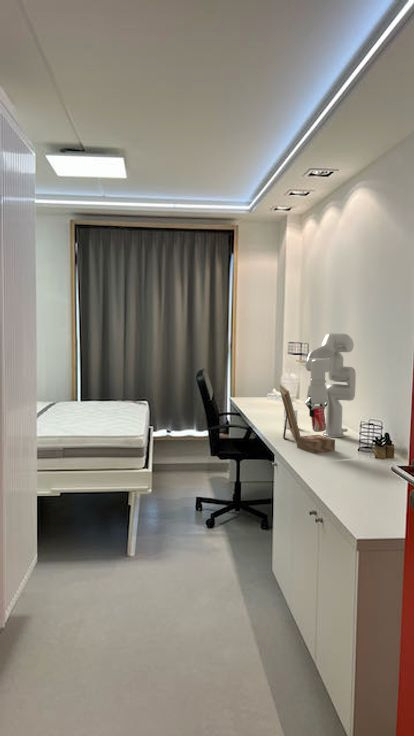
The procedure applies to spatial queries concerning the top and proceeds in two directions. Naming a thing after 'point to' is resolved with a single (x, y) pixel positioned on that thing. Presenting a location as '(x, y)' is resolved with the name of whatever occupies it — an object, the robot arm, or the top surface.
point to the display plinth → (316, 443)
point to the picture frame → (289, 413)
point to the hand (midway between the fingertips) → (316, 416)
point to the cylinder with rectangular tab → (287, 419)
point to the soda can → (318, 419)
